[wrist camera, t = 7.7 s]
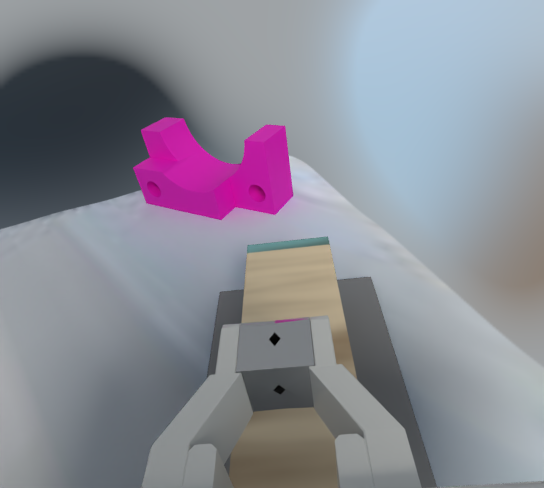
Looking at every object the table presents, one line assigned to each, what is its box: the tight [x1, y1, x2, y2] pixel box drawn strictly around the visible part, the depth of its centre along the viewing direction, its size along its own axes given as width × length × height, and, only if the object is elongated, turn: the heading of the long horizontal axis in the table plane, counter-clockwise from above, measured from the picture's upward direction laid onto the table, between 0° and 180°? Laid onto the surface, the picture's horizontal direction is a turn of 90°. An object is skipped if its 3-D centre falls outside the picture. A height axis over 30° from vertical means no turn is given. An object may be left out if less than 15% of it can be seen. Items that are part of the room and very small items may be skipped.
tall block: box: [229, 237, 357, 488], centre depth 20 cm, size 5×5×14 cm
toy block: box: [133, 117, 293, 220], centre depth 39 cm, size 15×6×8 cm, turn 60°
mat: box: [207, 277, 437, 488], centre depth 19 cm, size 22×11×1 cm, turn 0°
